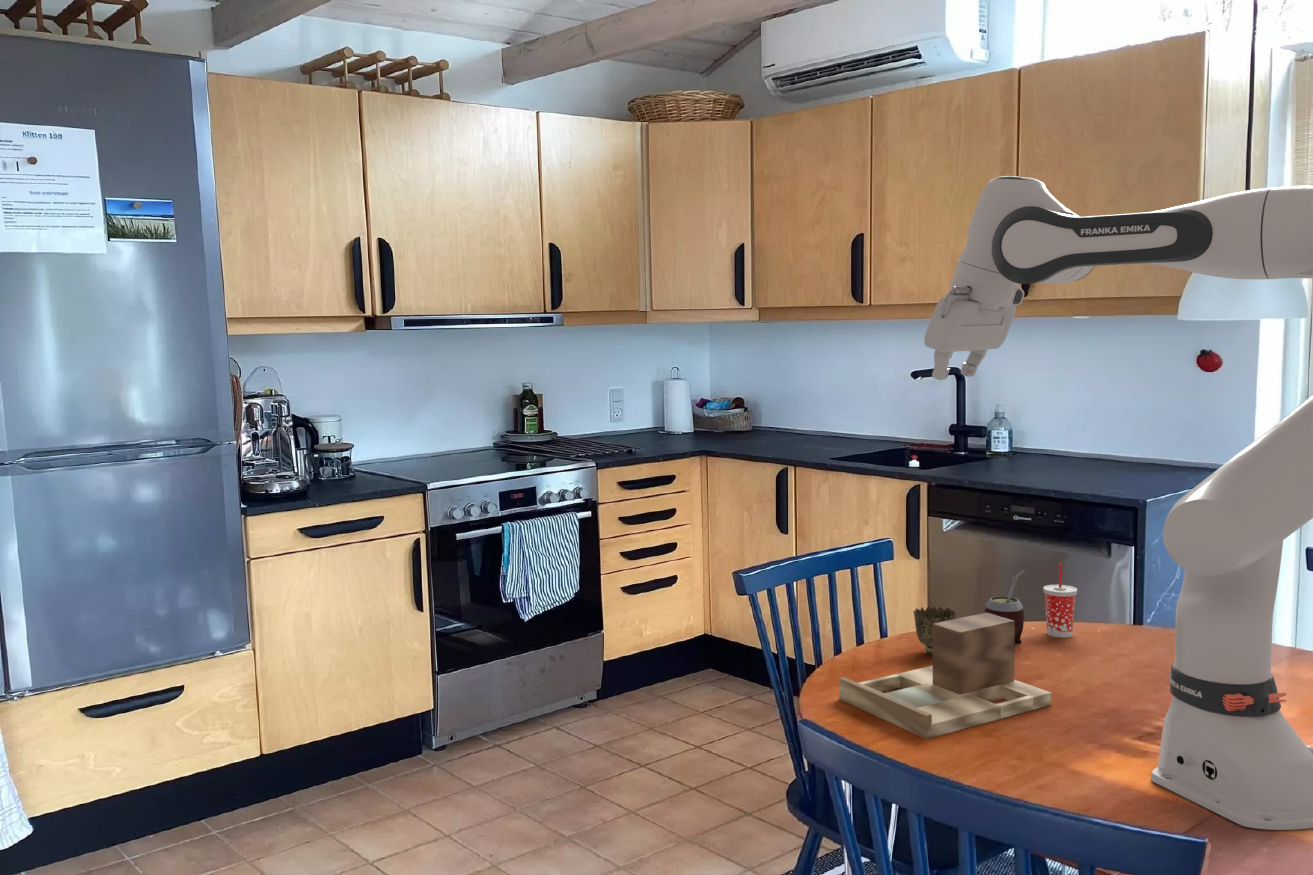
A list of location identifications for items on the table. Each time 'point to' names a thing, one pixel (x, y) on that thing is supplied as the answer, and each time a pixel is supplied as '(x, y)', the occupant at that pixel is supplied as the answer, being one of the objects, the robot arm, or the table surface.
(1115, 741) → the table surface
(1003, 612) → the mate gourd
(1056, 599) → the beverage cup
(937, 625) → the block
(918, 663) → the table surface
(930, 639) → the cup
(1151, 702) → the table surface
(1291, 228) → the robot arm
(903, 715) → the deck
